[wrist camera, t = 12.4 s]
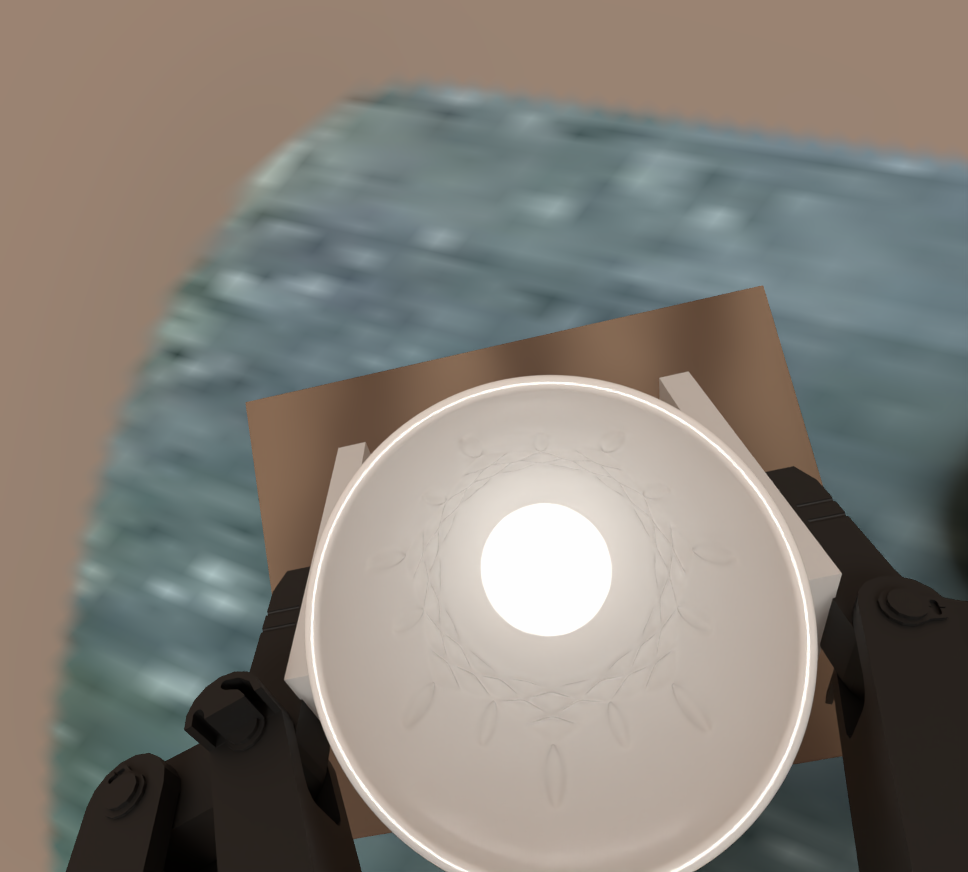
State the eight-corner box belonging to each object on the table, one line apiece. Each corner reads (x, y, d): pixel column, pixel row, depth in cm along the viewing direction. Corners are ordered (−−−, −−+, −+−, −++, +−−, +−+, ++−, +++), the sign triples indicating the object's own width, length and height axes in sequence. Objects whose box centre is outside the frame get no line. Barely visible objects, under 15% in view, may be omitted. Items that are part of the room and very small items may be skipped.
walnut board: (750, 298, 21) (763, 285, 20) (877, 731, 19) (900, 745, 18) (260, 408, 22) (245, 402, 21) (320, 827, 20) (306, 846, 19)
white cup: (384, 547, 19) (211, 586, 9) (556, 400, 19) (571, 279, 9) (533, 739, 18) (520, 1031, 8) (719, 579, 18) (942, 666, 8)
